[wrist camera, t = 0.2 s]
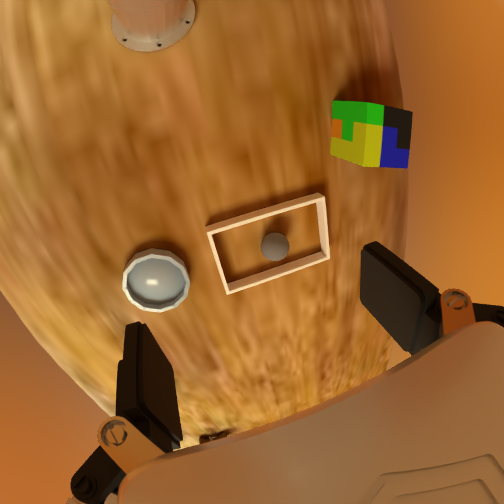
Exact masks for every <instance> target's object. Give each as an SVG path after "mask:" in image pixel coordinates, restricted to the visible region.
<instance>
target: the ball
mask: <svg viewBox="0 0 504 504" xmlns="http://www.w3.org/2000/svg"><path fill="white" fill-rule="evenodd" d="M261 251H262V253H263V255H264V256H265V257H266V258H267V259H269V260H271V261H279V260H282V259H283V258H284V257H286V255H287V254H288V252H289V242H288V240H287V238H286V237H285V236H284V235H282V234H280V233H270V234H268V235H266V236H265V237H264V239H263V240H262V243H261Z"/></svg>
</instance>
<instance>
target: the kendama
mask: <svg viewBox="0 0 504 504" xmlns="http://www.w3.org/2000/svg"><path fill="white" fill-rule="evenodd" d="M225 437H227V435H226V433H225V432H223V433H221V434H220V435H219V436H218V437H216V438H212V437H211V436H209V438H210V439H205V438H199V442H200V444H203V443H207V442H211V441H214V440H218V439H221V438H225Z"/></svg>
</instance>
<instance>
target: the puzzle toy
mask: <svg viewBox="0 0 504 504" xmlns="http://www.w3.org/2000/svg"><path fill="white" fill-rule="evenodd" d="M411 128H412V112H410V111H406V110H403V109H398V108H394V107H389V106H384V105H379V104H374V103H369V102H355V101H333V110H332V135H331V153H330V155H333V156H336V157H339V158H342V159H344V160H347V161H350V162H352V163H355V164H358V165H360V166H363V167H390V168H407V167H408V159H409V150H410V139H411Z"/></svg>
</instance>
